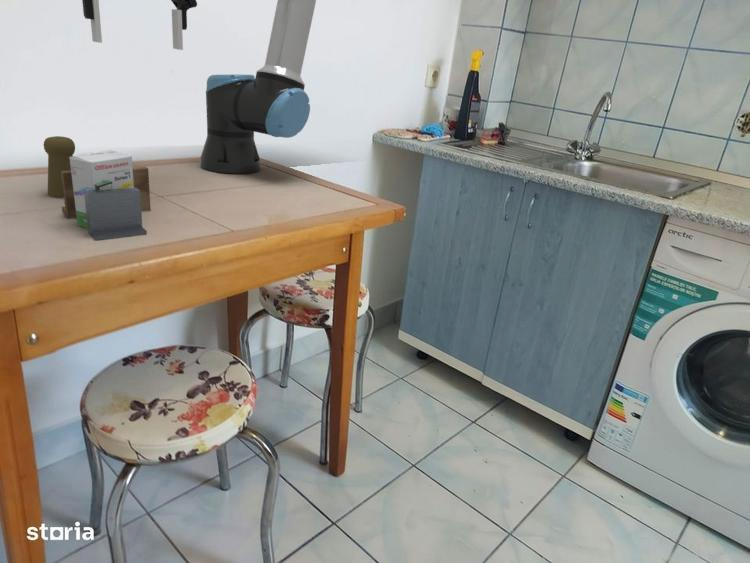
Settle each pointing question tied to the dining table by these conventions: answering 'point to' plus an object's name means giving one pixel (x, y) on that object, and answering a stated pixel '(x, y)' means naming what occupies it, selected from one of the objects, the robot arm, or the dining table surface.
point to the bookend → (114, 213)
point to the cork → (58, 162)
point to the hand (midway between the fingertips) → (139, 46)
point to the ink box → (98, 176)
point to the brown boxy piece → (139, 182)
